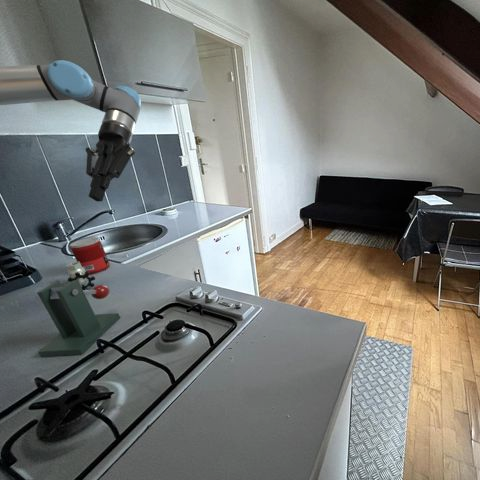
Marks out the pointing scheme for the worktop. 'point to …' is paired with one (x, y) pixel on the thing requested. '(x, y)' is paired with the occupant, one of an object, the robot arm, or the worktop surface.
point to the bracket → (73, 320)
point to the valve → (79, 274)
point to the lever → (86, 292)
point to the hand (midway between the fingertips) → (95, 198)
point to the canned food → (90, 254)
